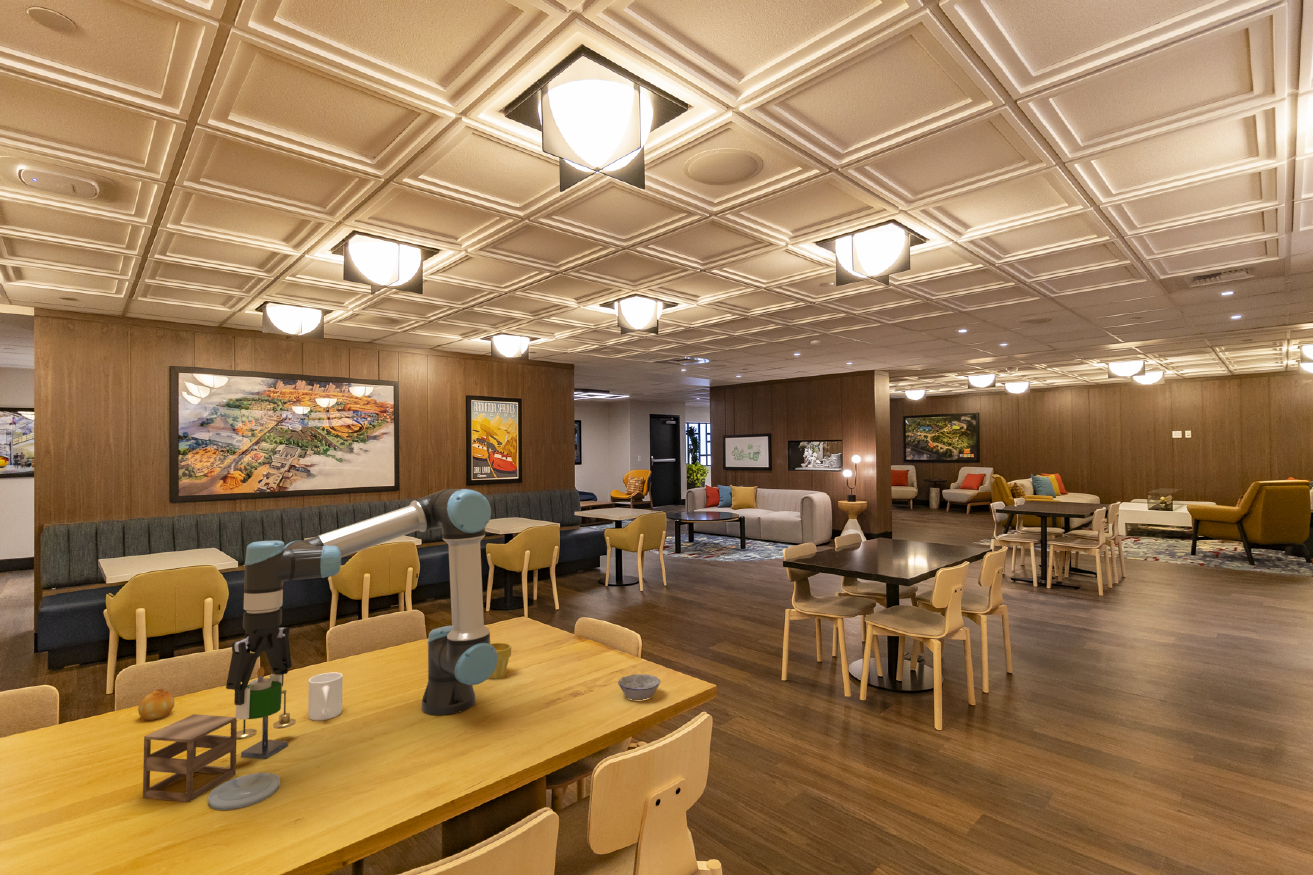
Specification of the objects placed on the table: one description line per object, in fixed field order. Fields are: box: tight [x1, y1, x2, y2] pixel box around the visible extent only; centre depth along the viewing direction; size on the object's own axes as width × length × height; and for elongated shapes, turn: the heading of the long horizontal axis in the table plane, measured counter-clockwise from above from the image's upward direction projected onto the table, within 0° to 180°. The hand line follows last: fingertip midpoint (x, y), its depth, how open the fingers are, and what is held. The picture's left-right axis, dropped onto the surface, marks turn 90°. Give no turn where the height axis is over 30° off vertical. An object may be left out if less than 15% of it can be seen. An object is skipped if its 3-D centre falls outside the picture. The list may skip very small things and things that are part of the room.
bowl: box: [617, 673, 661, 701], centre depth 187 cm, size 13×13×5 cm
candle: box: [247, 666, 283, 720], centre depth 139 cm, size 8×8×10 cm
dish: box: [207, 772, 281, 811], centre depth 134 cm, size 13×13×1 cm
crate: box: [142, 713, 238, 803], centre depth 138 cm, size 12×12×13 cm
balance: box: [236, 689, 297, 760], centre depth 154 cm, size 7×18×16 cm, turn 170°
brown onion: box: [137, 688, 175, 721], centre depth 176 cm, size 8×8×8 cm
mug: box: [307, 671, 344, 722], centre depth 174 cm, size 9×12×11 cm
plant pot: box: [488, 641, 512, 680], centre depth 207 cm, size 10×10×10 cm
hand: (259, 710), depth 139 cm, fingers closed on candle, 8 cm apart
